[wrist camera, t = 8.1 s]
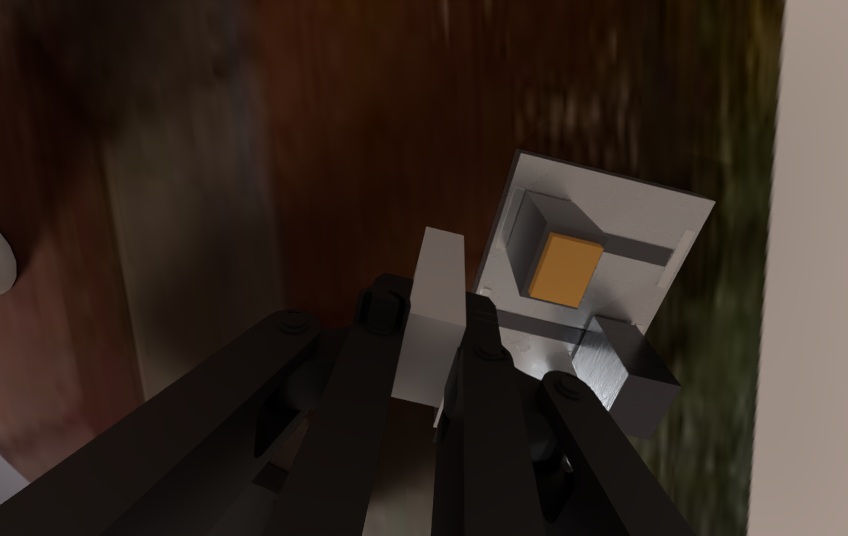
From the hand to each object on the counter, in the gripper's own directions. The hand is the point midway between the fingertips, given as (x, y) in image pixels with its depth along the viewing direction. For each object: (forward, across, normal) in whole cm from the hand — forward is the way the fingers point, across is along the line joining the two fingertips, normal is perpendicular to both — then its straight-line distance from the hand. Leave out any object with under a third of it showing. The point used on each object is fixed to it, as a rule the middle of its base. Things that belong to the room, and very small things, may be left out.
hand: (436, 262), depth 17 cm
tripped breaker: (+10, +6, 0) cm, 12 cm away
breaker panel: (+12, +10, -7) cm, 17 cm away
